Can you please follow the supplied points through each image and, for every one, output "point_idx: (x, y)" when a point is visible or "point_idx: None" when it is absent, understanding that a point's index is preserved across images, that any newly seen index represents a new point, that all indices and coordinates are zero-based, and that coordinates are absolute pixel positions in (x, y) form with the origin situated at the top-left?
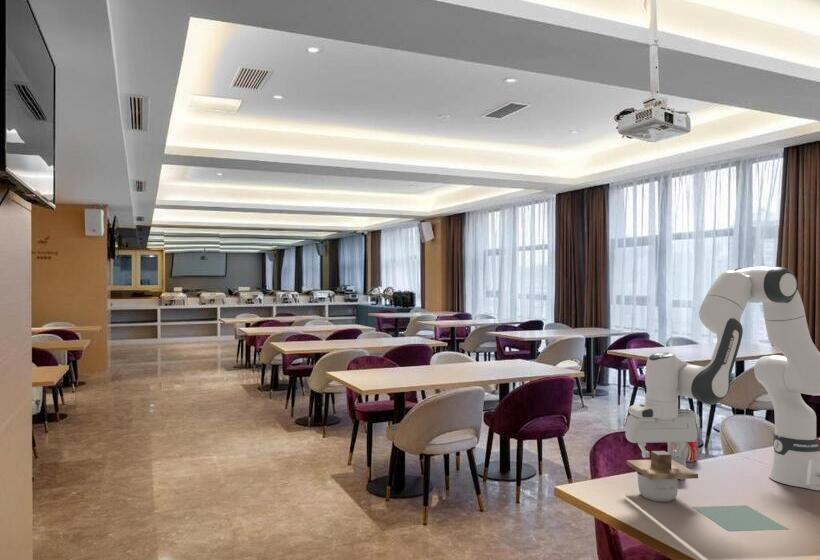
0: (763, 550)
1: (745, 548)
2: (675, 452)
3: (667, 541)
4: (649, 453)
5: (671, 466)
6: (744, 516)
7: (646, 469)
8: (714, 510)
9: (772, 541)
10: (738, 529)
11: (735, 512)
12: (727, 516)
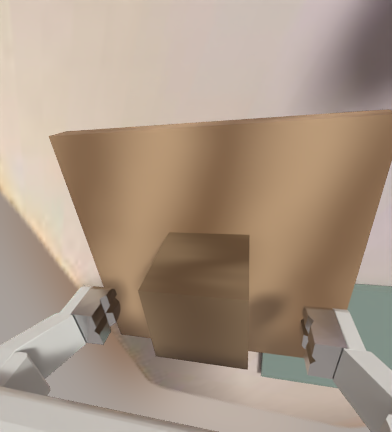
0: (276, 407)
1: (252, 398)
2: (306, 359)
3: (142, 362)
4: (107, 336)
5: (273, 267)
6: (367, 345)
7: (124, 285)
8: None
9: (323, 398)
10: (287, 376)
11: (368, 326)
12: None
